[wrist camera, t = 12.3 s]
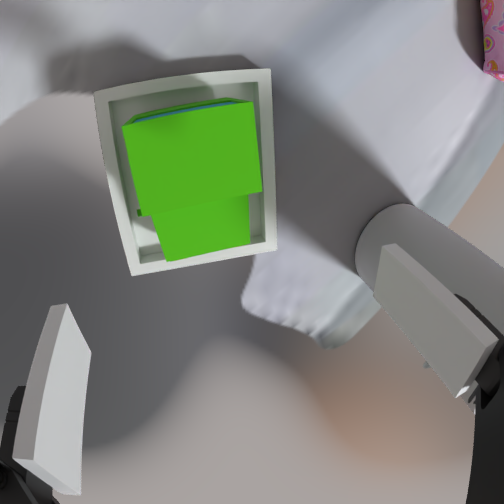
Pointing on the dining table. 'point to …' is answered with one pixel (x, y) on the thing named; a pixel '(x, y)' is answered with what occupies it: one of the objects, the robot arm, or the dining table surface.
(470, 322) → the robot arm
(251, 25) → the dining table surface
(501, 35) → the pencil case
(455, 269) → the cylinder vase
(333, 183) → the dining table surface
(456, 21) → the dining table surface
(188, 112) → the toy car
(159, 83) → the tray
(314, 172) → the dining table surface
